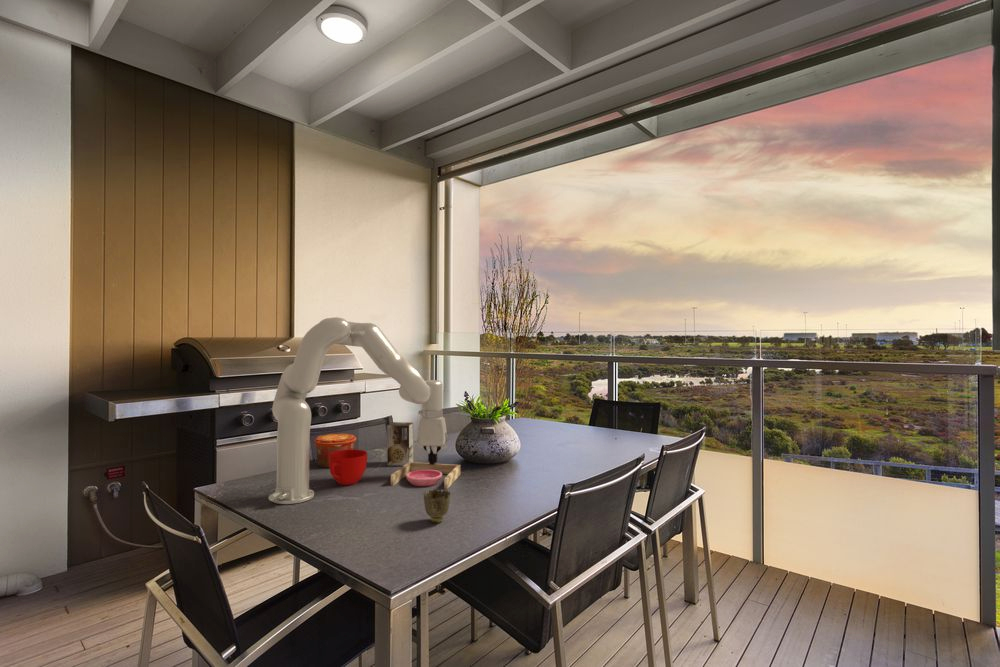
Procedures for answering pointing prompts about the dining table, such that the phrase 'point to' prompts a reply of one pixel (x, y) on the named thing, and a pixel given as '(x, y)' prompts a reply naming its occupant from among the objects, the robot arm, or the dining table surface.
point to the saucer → (424, 477)
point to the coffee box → (399, 443)
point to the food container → (332, 446)
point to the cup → (436, 504)
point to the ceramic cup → (347, 465)
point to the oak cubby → (448, 469)
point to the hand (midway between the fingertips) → (432, 463)
